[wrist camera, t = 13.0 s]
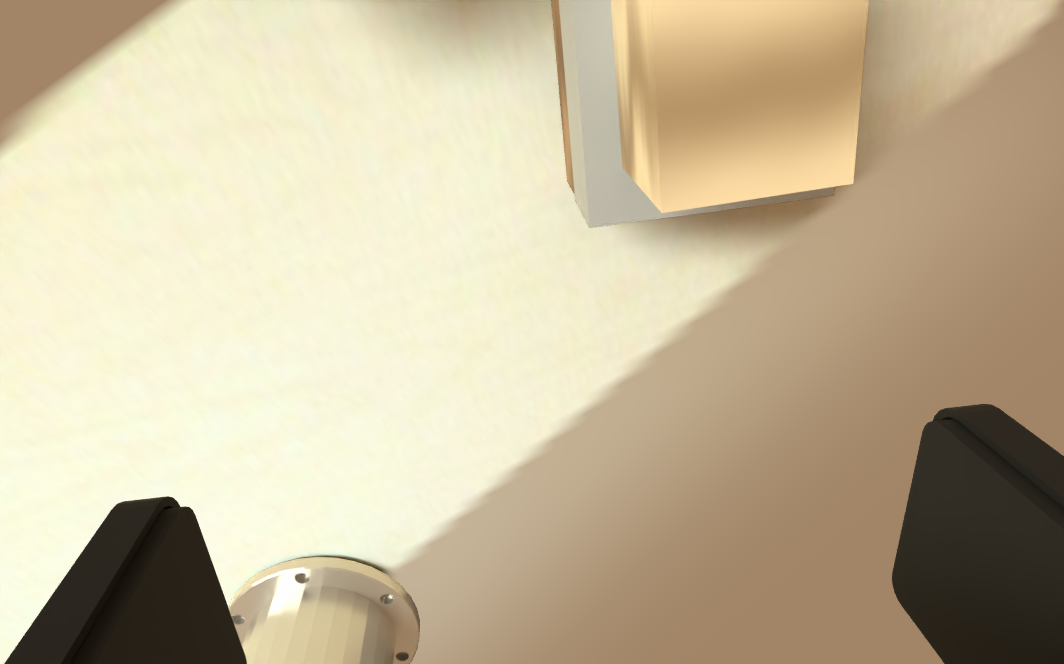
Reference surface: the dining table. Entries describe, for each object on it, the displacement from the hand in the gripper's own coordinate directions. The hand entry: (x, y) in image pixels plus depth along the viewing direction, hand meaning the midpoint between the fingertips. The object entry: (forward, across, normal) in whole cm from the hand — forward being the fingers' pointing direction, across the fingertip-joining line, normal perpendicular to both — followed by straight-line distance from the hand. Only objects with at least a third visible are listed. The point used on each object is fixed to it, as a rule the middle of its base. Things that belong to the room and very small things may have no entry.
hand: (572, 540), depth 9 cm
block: (+19, -8, -4) cm, 21 cm away
